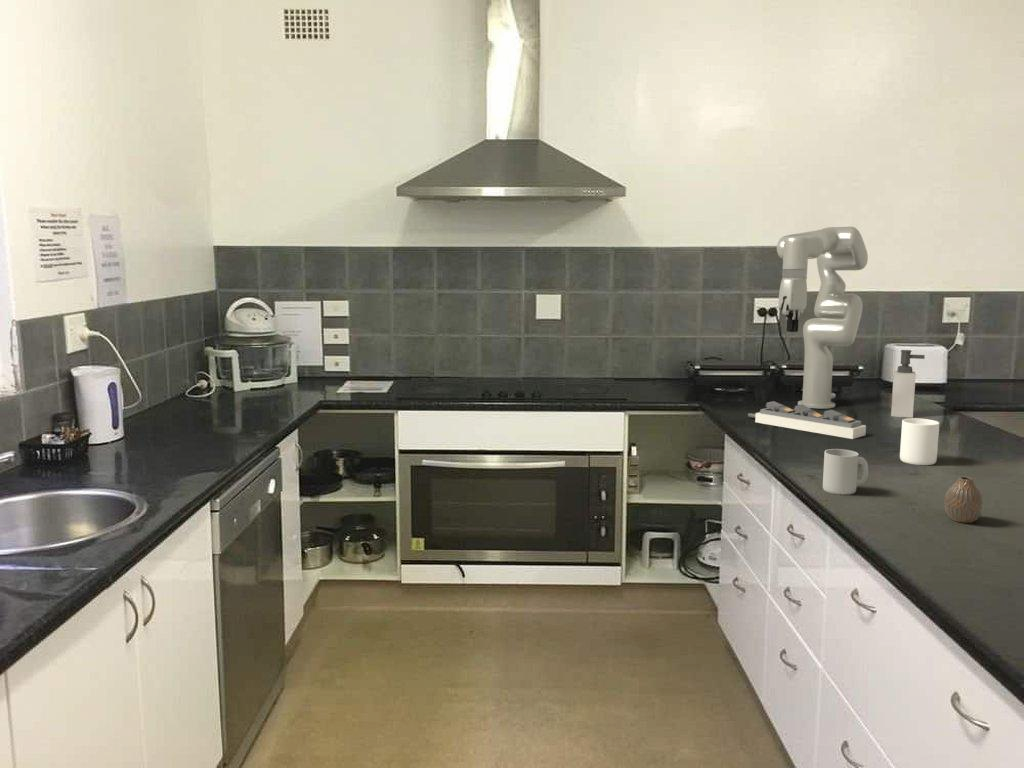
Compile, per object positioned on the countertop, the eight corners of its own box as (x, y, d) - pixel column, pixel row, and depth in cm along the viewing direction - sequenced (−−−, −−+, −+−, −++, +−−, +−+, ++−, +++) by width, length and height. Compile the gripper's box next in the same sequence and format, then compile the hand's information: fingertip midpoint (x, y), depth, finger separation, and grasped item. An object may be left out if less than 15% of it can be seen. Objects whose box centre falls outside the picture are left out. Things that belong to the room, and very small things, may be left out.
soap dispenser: (920, 418, 263) (925, 352, 260) (891, 416, 267) (895, 351, 263) (919, 414, 269) (924, 350, 265) (891, 412, 272) (895, 349, 269)
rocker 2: (800, 408, 252) (802, 403, 252) (822, 420, 247) (824, 415, 246) (793, 410, 250) (795, 405, 249) (815, 422, 245) (817, 417, 244)
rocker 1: (772, 405, 260) (773, 400, 259) (793, 414, 254) (795, 409, 254) (765, 407, 258) (766, 402, 257) (786, 416, 252) (788, 411, 251)
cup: (817, 486, 186) (819, 449, 185) (860, 485, 186) (862, 448, 185) (829, 495, 179) (831, 456, 178) (874, 494, 179) (876, 456, 178)
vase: (945, 523, 160) (949, 481, 158) (940, 513, 166) (943, 472, 165) (985, 527, 157) (988, 484, 156) (978, 516, 164) (982, 475, 162)
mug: (924, 454, 215) (927, 415, 213) (941, 466, 203) (944, 425, 201) (890, 454, 216) (893, 415, 214) (906, 465, 204) (908, 424, 202)
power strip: (755, 416, 268) (755, 404, 267) (865, 435, 239) (866, 421, 238) (742, 419, 263) (742, 407, 262) (852, 439, 234) (853, 424, 233)
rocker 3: (830, 414, 245) (831, 409, 244) (853, 424, 239) (855, 418, 239) (823, 416, 242) (824, 410, 242) (847, 426, 237) (848, 420, 236)
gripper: (796, 274, 264) (794, 329, 267) (771, 275, 255) (769, 332, 258) (817, 274, 258) (815, 330, 261) (792, 275, 249) (789, 334, 252)
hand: (792, 331), depth 259 cm, fingers closed
